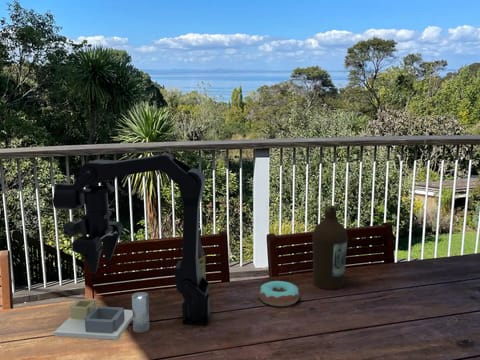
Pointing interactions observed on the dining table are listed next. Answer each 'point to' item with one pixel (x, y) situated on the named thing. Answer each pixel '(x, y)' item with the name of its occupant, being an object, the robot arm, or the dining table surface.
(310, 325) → the dining table surface
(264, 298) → the donut
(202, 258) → the sauce bottle
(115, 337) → the fitting plate
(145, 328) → the metal cylinder
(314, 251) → the olive oil
